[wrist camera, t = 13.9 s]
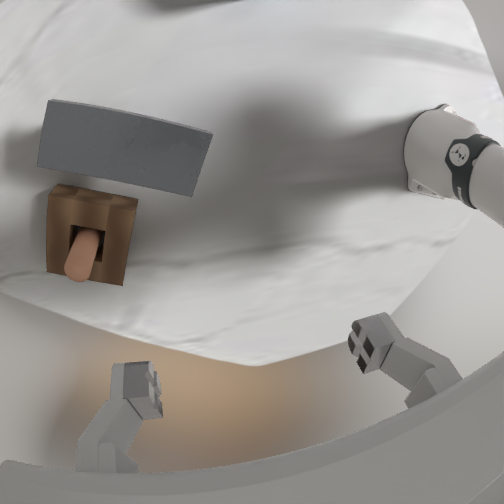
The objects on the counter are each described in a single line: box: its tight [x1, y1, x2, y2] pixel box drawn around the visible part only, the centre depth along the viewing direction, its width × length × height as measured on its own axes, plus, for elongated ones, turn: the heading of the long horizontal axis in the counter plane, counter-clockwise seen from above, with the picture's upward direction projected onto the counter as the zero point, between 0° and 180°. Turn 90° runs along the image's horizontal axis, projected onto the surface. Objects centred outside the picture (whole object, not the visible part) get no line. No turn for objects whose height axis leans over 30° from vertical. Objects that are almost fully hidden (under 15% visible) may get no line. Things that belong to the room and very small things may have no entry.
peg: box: [64, 226, 103, 282], centre depth 35 cm, size 3×3×10 cm
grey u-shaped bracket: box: [37, 99, 213, 197], centre depth 28 cm, size 15×6×13 cm, turn 68°
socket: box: [46, 184, 138, 286], centre depth 37 cm, size 12×12×4 cm
